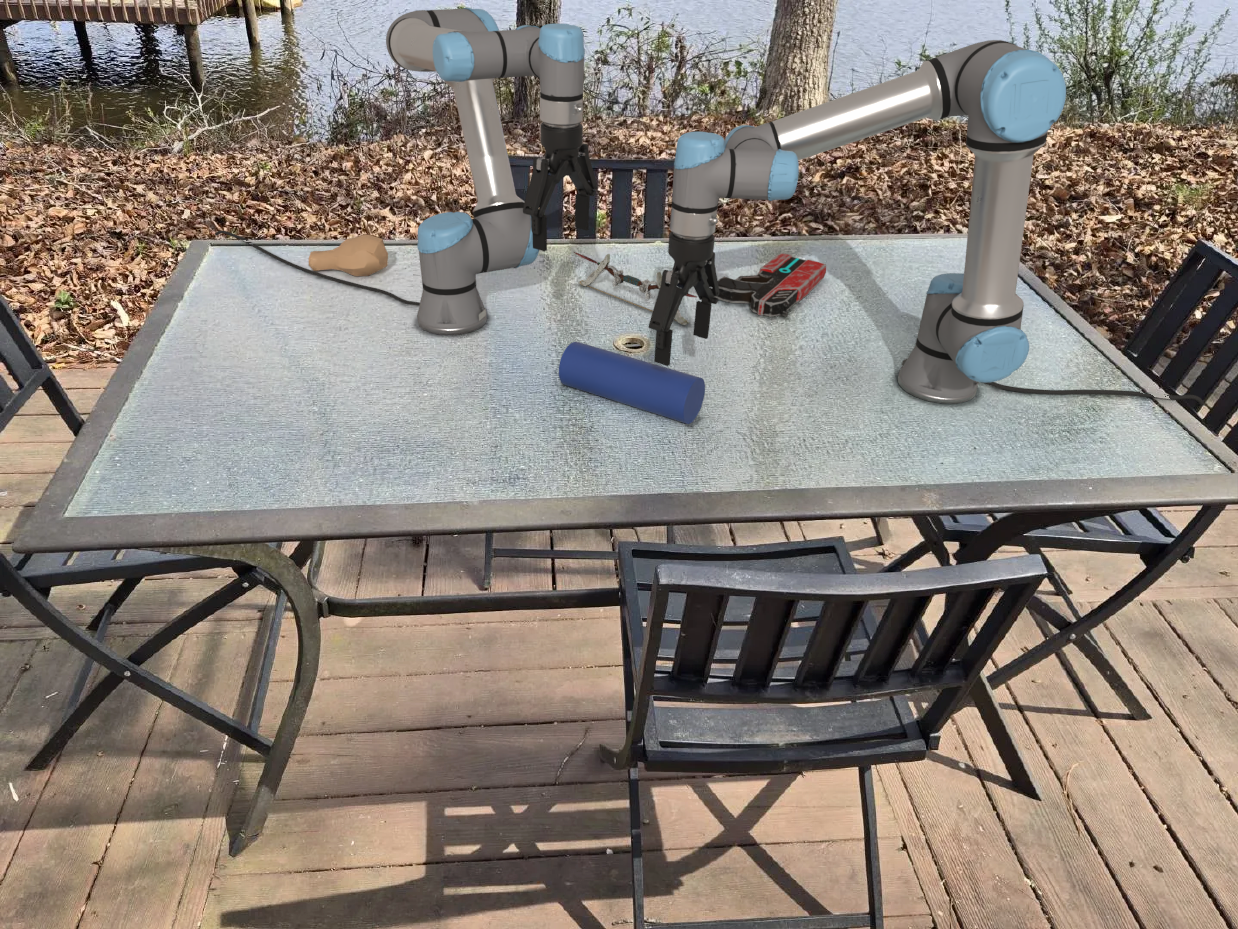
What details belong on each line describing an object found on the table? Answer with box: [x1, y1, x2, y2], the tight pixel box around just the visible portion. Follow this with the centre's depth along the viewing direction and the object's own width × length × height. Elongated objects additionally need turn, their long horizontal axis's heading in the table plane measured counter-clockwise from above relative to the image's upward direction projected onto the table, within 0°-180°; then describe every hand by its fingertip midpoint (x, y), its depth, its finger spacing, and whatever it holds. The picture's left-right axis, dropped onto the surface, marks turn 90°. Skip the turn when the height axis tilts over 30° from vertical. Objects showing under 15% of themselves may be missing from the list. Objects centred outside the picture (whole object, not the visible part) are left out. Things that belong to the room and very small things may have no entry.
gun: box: [715, 252, 827, 318], centre depth 215 cm, size 4×31×19 cm
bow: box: [573, 251, 698, 326], centre depth 205 cm, size 39×2×10 cm, turn 47°
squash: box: [308, 233, 389, 277], centre depth 218 cm, size 11×20×9 cm, turn 90°
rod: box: [558, 341, 706, 425], centre depth 166 cm, size 27×9×9 cm, turn 59°
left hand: (561, 238), depth 167 cm, fingers open, 13 cm apart
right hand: (681, 349), depth 156 cm, fingers open, 13 cm apart
